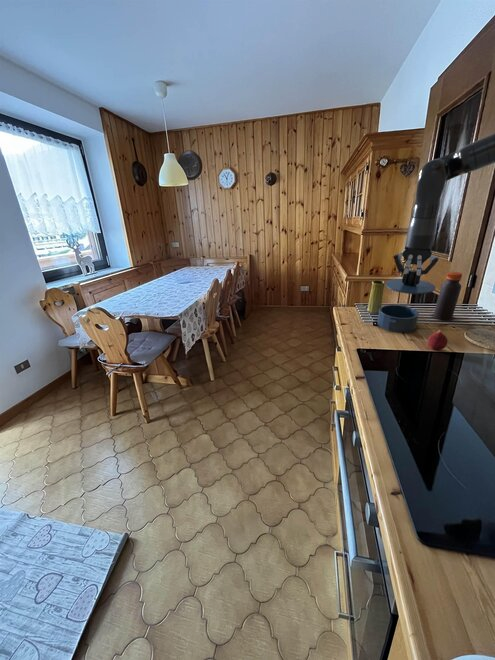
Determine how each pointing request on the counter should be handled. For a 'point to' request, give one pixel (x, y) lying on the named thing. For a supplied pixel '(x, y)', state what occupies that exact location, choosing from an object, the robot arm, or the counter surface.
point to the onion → (437, 341)
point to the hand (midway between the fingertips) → (410, 284)
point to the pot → (397, 318)
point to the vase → (376, 296)
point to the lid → (410, 285)
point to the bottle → (448, 297)
